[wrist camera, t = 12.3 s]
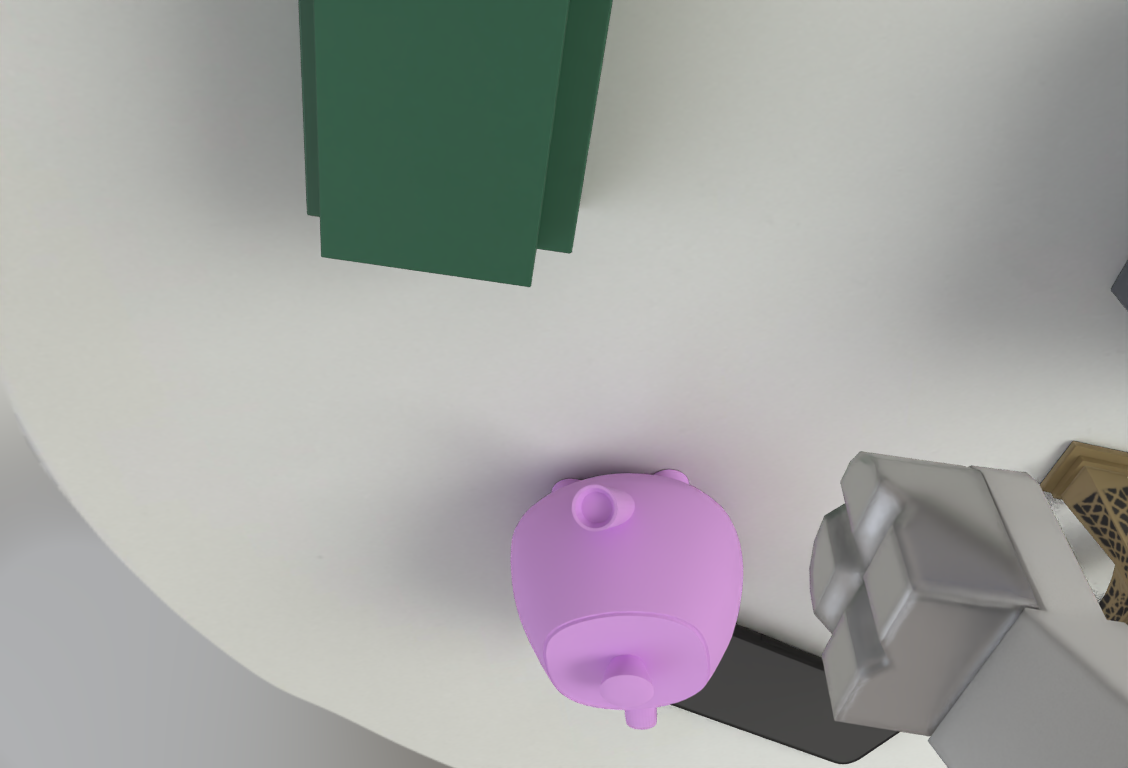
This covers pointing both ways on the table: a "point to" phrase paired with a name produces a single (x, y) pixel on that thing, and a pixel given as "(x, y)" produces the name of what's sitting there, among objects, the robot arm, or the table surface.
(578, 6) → the green stack
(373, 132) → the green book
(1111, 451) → the eiffel tower
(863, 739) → the smartphone
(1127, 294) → the grey stack
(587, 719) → the table surface
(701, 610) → the teapot
